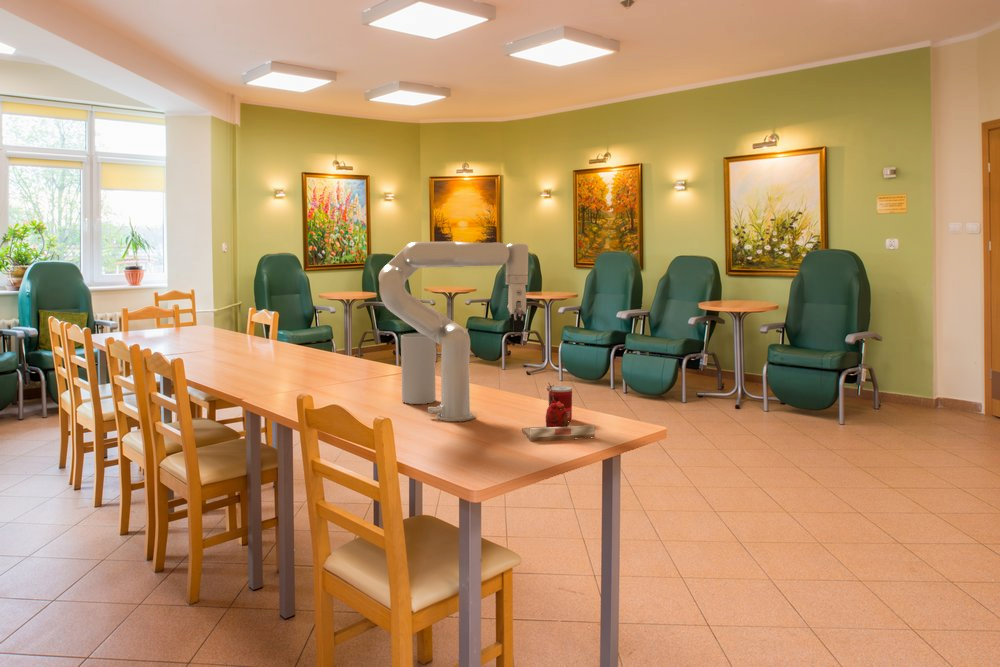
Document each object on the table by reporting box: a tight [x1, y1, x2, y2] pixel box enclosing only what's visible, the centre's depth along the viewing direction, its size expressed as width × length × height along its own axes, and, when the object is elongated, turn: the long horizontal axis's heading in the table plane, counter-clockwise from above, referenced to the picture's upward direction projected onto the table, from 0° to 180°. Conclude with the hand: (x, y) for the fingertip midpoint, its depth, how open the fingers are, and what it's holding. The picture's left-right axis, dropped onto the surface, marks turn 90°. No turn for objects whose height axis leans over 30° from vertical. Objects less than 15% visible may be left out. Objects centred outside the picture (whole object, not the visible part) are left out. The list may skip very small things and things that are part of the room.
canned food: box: [548, 385, 573, 422], centre depth 251 cm, size 8×8×11 cm
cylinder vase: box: [400, 332, 437, 405], centre depth 279 cm, size 12×12×25 cm
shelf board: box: [521, 424, 596, 442], centre depth 232 cm, size 20×12×4 cm, turn 101°
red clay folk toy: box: [545, 382, 570, 428], centre depth 232 cm, size 8×7×15 cm
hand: (515, 330), depth 255 cm, fingers open, 9 cm apart
